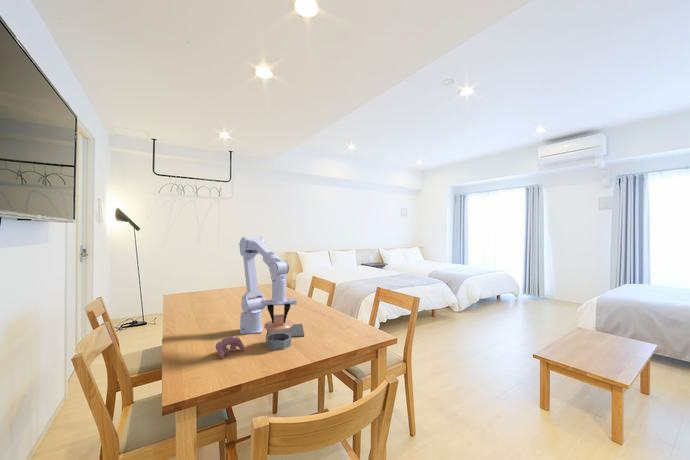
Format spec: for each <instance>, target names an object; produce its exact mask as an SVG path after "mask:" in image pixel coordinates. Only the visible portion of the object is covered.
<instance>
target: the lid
mask: <svg viewBox="0 0 690 460" xmlns="http://www.w3.org/2000/svg"><path fill="white" fill-rule="evenodd" d="M293 324H294V322H293V321H291V320H288V319H286V321H285V323H284V313H283V314H274V324H272V320H269V321H266V323H264V326H263V328H264V330H266V331H268V330H269V331H284V330H288V329H290V328H292V327H293Z"/></svg>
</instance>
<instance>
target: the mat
mask: <svg viewBox="0 0 690 460" xmlns="http://www.w3.org/2000/svg"><path fill="white" fill-rule="evenodd" d="M303 326H304V325H303V323H293V327H292V328H290V329H288V330H284V331H269V330H267V331H268V332H267V336H268V335H271V334H273V333H287V334H290V335H291V338H302V337H303V338H304V337H305V333H304V327H303Z"/></svg>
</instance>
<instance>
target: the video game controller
mask: <svg viewBox="0 0 690 460" xmlns="http://www.w3.org/2000/svg"><path fill="white" fill-rule="evenodd" d="M227 346H229V348H228V347H227ZM237 348H239V350H240V351H242V352H243V351H245V345H244V343H243V342H242V340H241V338H240V337H238V336H235V335H234V336H227V337H224V338H222V339H221V340H219V341H218V342H217V343H216V344H215V350H216V352H217V353H218V355H219V357H220V358H221V359H224V358H225V355H226V354H228V353H229V351H230V352H235V351H236V350H237Z"/></svg>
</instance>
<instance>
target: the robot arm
mask: <svg viewBox="0 0 690 460" xmlns="http://www.w3.org/2000/svg"><path fill="white" fill-rule="evenodd" d="M238 245H239V253H240V256H242V258H243V267H244V276H245V277H244V278H245V286H246V292H245V293H244V294H243V295H242V296H241V304H240V306H241V310H242V312H241V313H240V322H239V324H240V325H239V329H240V330H239V331H240V332H239V334H241V335H244V334H245V335H246V334H247V335H248V334H259V333H263V328H264V326H263V325H262V316H263V315H262V314H263V313H262V312H263V311H264V309H265V307H266V308H267V311H268V313H269V316H270V319H271V321H272V324H274V315H275V313H274V311H275V309H274V307H275V306H283V308H284V309H283V312H284V313H283V314H284V323H285V321H286V320H287V316H288V313H289V312H290V309H291V305H292V306H297V298H296V299H295V298H291V299H290V298H287V274H289V271H290V265H289V262H288V261H287V260H285V259H284V260H283V259H281V258H280V257H279V256H278V255H277V254H276V252H275V251H273V250H272V251H271V250H269V249H268V248H267V246H266V245H265V239H264V238H263V236H255V237H253V236H252V237H251V236H249V237H244V236H243V237H241V239H240V240H239V243H238ZM257 255H261V257H262V261H263V262H264V263H265V265H266V266H267V267H268V268H269V274H270V279H271V299H266V298H265V295H264V293H263V292H262V291H260V290H259V286H258V285H259V284H258V277H257V268H256V261H255V257H256V256H257Z"/></svg>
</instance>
